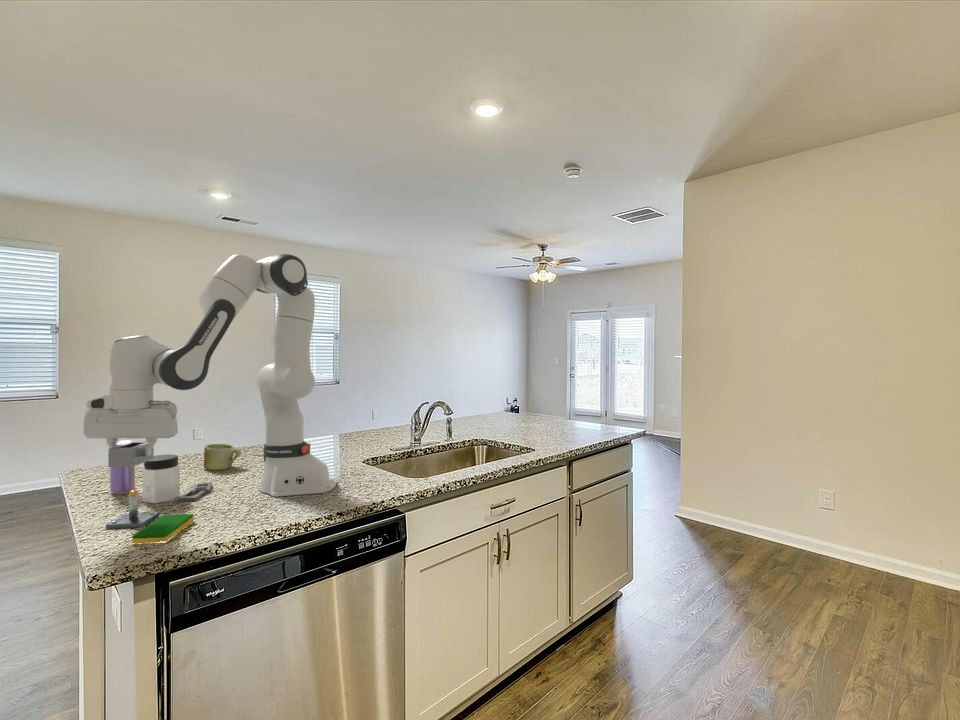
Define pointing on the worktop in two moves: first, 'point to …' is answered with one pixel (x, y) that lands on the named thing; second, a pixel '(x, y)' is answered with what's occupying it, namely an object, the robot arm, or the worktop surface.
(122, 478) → the beverage can
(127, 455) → the link
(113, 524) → the keeper
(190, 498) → the chain tail
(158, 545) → the worktop surface
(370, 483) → the worktop surface
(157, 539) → the dish sponge
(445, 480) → the worktop surface
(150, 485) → the jar
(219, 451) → the mug
